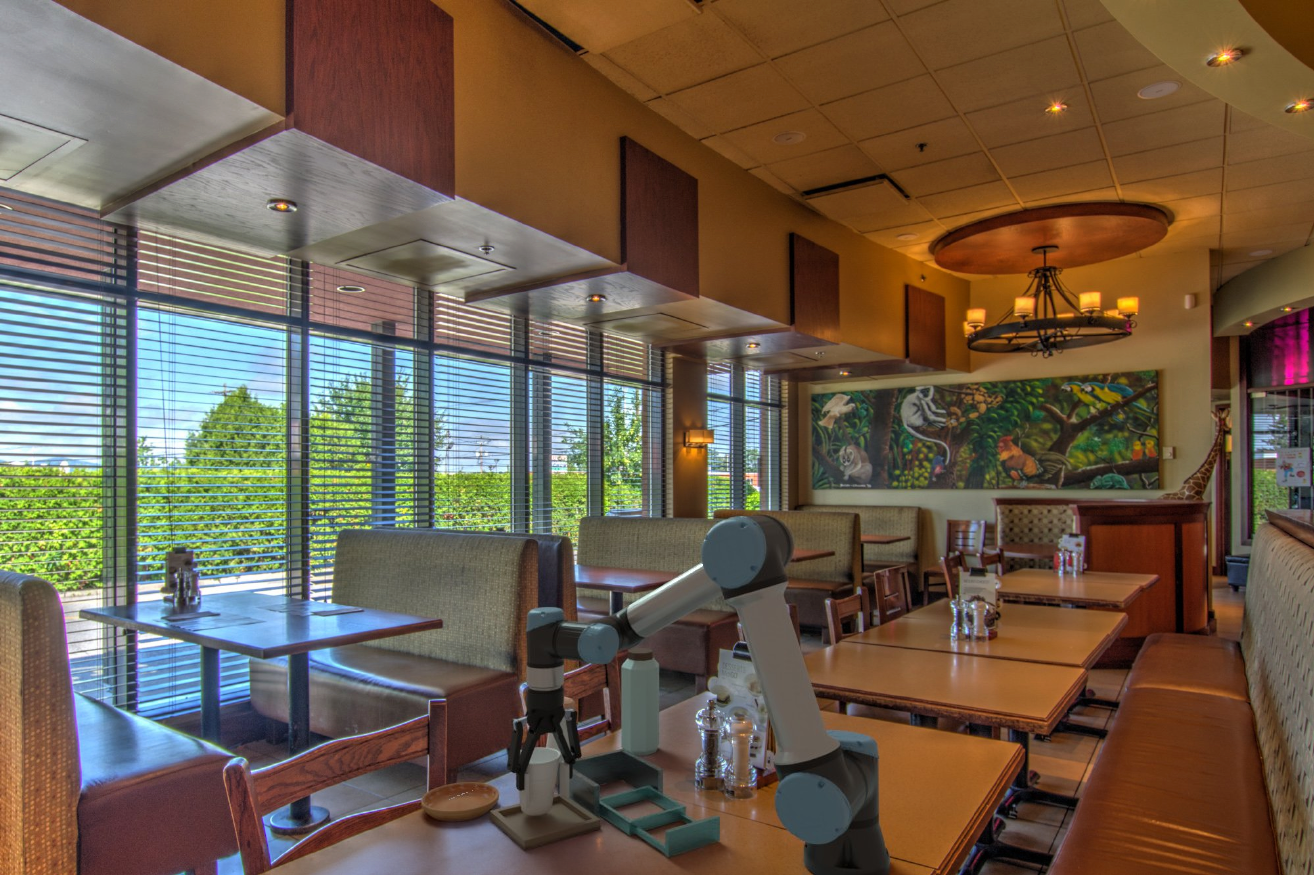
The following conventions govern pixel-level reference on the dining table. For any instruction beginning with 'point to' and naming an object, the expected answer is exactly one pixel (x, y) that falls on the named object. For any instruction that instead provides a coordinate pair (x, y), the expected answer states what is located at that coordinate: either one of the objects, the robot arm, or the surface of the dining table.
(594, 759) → the cubby
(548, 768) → the cup
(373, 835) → the dining table surface
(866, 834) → the robot arm
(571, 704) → the pepper shaker
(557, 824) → the tray
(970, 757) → the dining table surface
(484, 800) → the saucer
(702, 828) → the caddy
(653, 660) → the water bottle
